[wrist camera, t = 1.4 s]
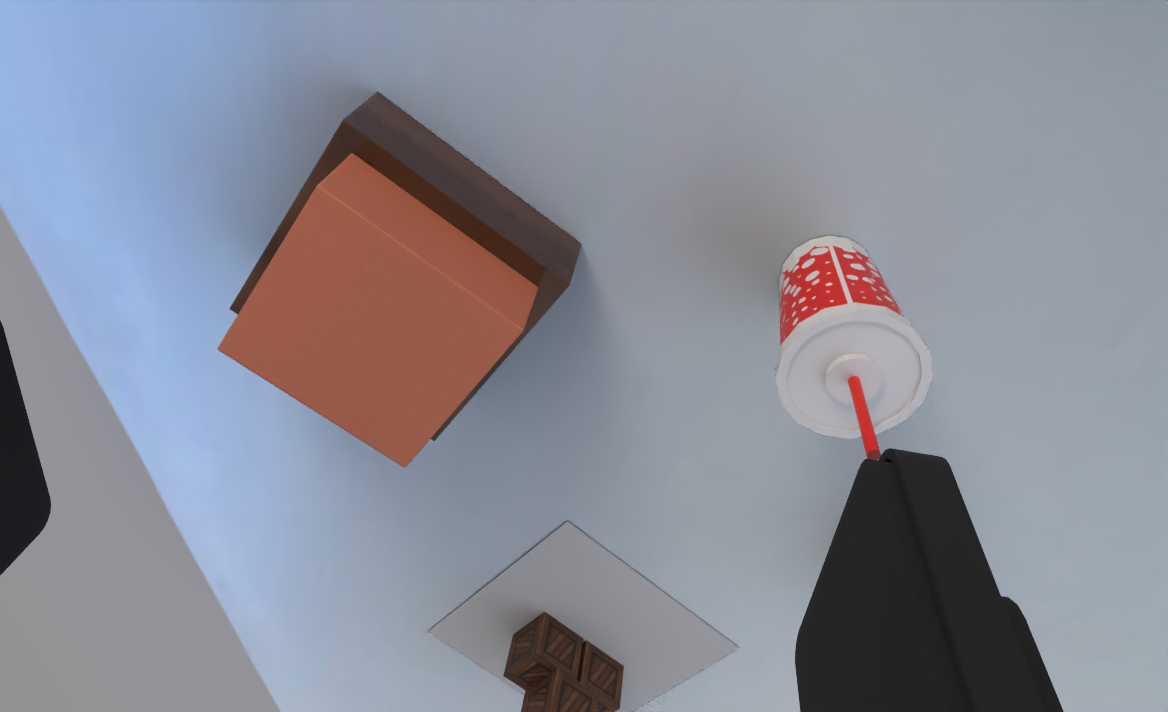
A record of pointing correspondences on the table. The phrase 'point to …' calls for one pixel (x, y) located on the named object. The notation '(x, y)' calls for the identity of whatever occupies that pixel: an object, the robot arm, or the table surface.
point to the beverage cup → (846, 345)
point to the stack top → (378, 312)
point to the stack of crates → (580, 630)
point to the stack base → (442, 205)
